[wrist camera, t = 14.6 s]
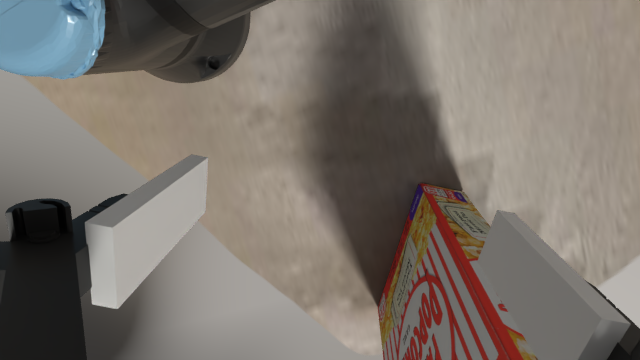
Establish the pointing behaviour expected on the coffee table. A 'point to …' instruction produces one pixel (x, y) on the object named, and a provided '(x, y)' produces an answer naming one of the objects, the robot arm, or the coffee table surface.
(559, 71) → the coffee table surface
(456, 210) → the popcorn box
